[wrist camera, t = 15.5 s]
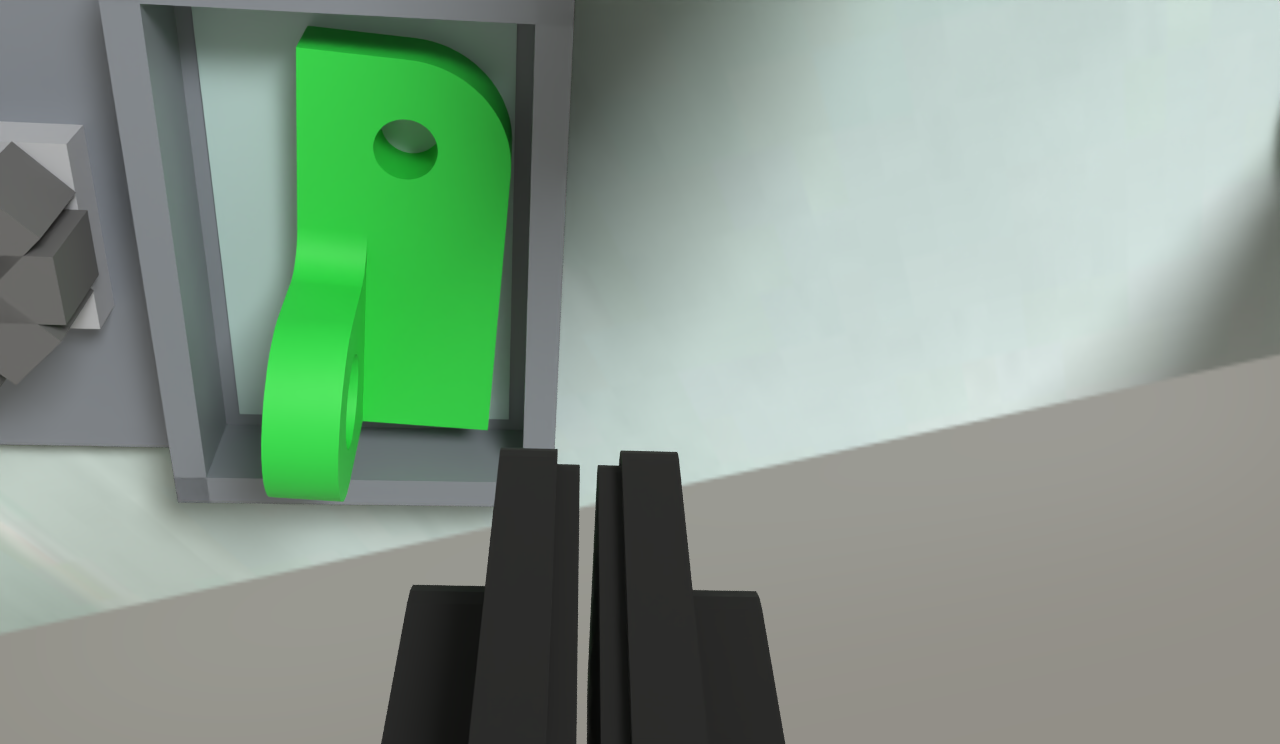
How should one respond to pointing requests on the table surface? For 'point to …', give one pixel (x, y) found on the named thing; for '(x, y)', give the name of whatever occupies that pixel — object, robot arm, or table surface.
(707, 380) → the table surface
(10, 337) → the wheel
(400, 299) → the mechanical part
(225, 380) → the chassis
